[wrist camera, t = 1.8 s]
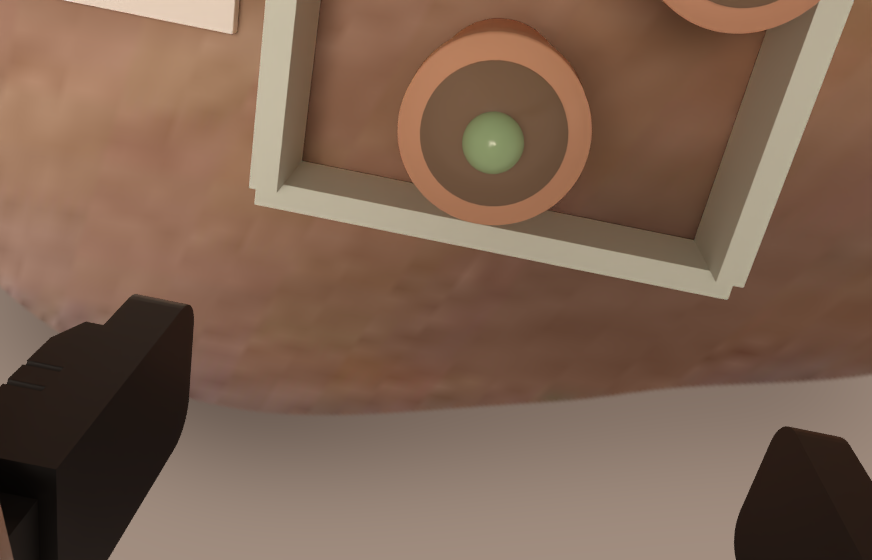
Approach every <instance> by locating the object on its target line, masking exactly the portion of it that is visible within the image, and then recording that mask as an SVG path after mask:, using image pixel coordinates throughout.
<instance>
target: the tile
mask: <svg viewBox="0 0 872 560" xmlns="http://www.w3.org/2000/svg"><path fill="white" fill-rule="evenodd" d="M66 1H71V2H76V3H81V4H86V5H90V6H95V7H100V8H105V9H110V10H115V11H120V12H125V13H130V14H135V15H140V16H145V17H150V18H155V19H160V20H164V21H169V22H174V23H179V24H184V25H189V26H194V27H199V28H204V29H209V30H214V31H219V32H224V33H229V34H234V33H236V32H237V28H238V15H239V2H240V0H66Z"/></svg>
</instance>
